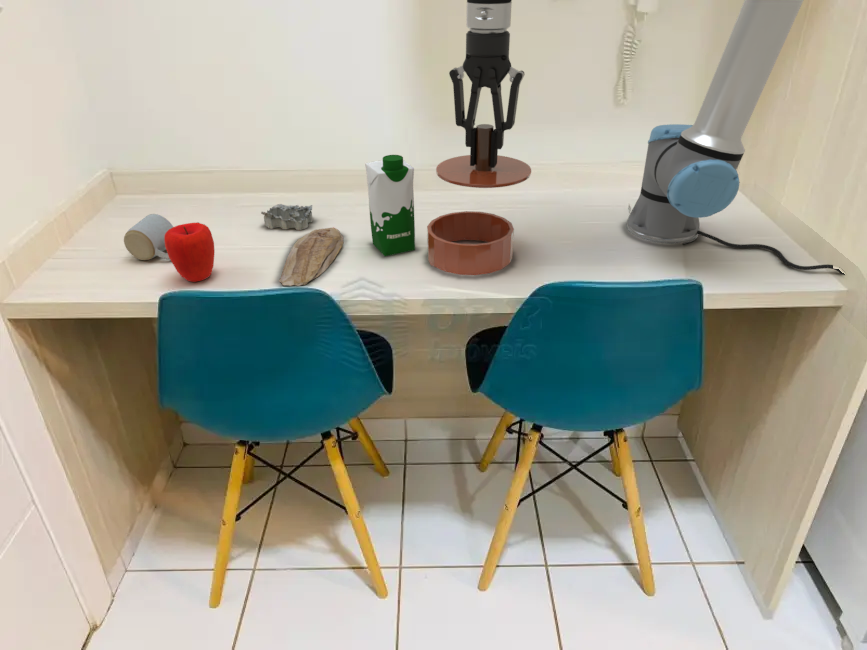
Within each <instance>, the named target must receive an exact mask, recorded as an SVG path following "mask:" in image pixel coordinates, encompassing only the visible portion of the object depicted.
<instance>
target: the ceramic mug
mask: <svg viewBox="0 0 867 650" xmlns="http://www.w3.org/2000/svg"><path fill="white" fill-rule="evenodd" d="M173 227H174V226H173V224H172V223H171V221H169V220H168V219H167V218H166V217H164V216H163V215H160V214H158V213H149V214H147V215H146V216H144V217H143V218H142V219H140V220H139V221H137V223H135V224H134V225H133V226H132V227H130V228H129V229H128V230H127V231H126V233H125V234H124V236H123V244H124V247H125V249H126V250H127V251H128V253H129V254H130V255H131V256H132V257H134V258H135V259H137V260H140V261H148V260H152V259H154V258H156V257H159V258H161V259H164V260H170V258H169V256H168V253H167V252H165V251H167V250H166V247H165V234H166V232H167V231H168V230H169V229H171V228H173Z"/></svg>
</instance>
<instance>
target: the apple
mask: <svg viewBox="0 0 867 650" xmlns="http://www.w3.org/2000/svg"><path fill="white" fill-rule="evenodd" d="M165 247H166V250H165V251H166V253H168V256H169V258H170V259H169V260H170V261H171V263H172V265H173V267H174V268H175V270H176V272H177V273H178V274H179V275H180V276H181V278H183V279H185V280H186V281H188V282H193V283H196V282H202V281H204V280H206V279H208V278H209V277H210V276H211V275H212V274H213V273H212V272H213V268H214V264H215V263H214V262H215V242H214V238H213V234H212V231H211V229H210V228H209V227H208V226H207V225H206V224H204V223H201V222H188V223H182V224H178V225H175V226H173V228H171V229H169V230H168V231H167V232H166V234H165Z"/></svg>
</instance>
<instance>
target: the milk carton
mask: <svg viewBox="0 0 867 650" xmlns="http://www.w3.org/2000/svg"><path fill="white" fill-rule="evenodd" d="M364 164H365V172H366V173H365V174H366V181H367V182H366V183H367V192H368V193H367V194H368V195H367V196H368V209H369V221H370V232H371V233H370V234H371V240H372V245H373V246H374V247H375V248H376V249H377V250H378V251H379V252H380V253H381V255H382V256H384V257H389V256H395V255H399V254H403V253H404V254H405V253H408V252H413V251H416V228H415V227H416V226H415V223H416V221H415V197H414V196H415V195H414V178H415V176H414V175H415V168H414V166H412V165H411V164H409V163H408V162H407V161H406V160H404V157H403V156H402V155H399V154H387V155H384V156H383V157H382V159H381V160H376V161H369V162H364Z"/></svg>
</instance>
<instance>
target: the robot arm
mask: <svg viewBox="0 0 867 650" xmlns="http://www.w3.org/2000/svg"><path fill="white" fill-rule="evenodd" d="M512 1H513V0H466V21H465V22H466V28H467V29H469V30H468V31H467V32H466V33H465V58H464V61H463V62H462V65H460V66H458V67H453V68H452V69H451V70H450V71H448V72H449V73H448V74H449V78H450V80H451V82H452V86H453V87H452V88H453V101H454V102H453V104H454V118H455V125H456V126H457V127H462V128H463V129H464V131H465V136H464V137H465V140H464V141H465V143H464V144H465V147H466V148H470V153H469V155H470V166H474V165H475V157H476V127H475V125H476V117H477V112H478V107H479V103H480V98H481V97H480V96H481V91H482V88H487V89H490V90H489V91H490V95H491V100H492V101H491V102H492V108H493V109H492V110H493V118H494V119H493V120H494V130H493V132H492V134H491V160H490V168H494V167H495V166H496V164H497V155H499V154H498V152H499V151H498V150H502V148H503V146H504V141H505V139H504V138H505V131H508V130H512V128H513V127H514V126H515V123H516V115H517V109H518V100H519V93H520V85H521V83H522V82H523V79H524V77H525V71H523V70H522V69H521V70H518V69H516V68H514V67H512V62H511V60H510V42H511V33H510V31H508V29H509V28H510V27H511V22H512V21H511V20H512V3H513V2H512ZM803 3H804V0H743V3H742V6H741V8H740V10H739V13H738V16H737V17H736V18H737V19H736V21H735V23H734V25H733V28H732V30H731V32H730V35H729V38H728V40H727V43H726V45H725V47H724V49H723V52H722V54H721V57H720V59H719V62H718V65H717V67H716V68H715V72H714V74H713V76H712V79H711V81H710V84H709V86H708V89H707V91H706V94H705V96H704V99H703V101H702V102H701V106H700V108H699V111H698V113H697V116H696V117H695V120H694V123H693V124H681V123H680V124H676V123H675V124H674V123H673V124H672V123H671V124H660V125H656V126H654V127H653V128H652V130H651V131H650V135H649V139H648V140H647V150H646V157H645V161H644V162H645V163H644V169H643V175H642V181H641V188H640V193H639V196H638V198H637V200H636V202H635V204H634V206H633V207H632V208H631V204H628V207H627V210H628V213H629V214H628V218H627V220H626V230H627V232H629V233H630V234H631V235H633V236H634V237H637V238H640V239H641V240H645V241H648V242H653V243H659V244H671V245H672V244H682V245H685V244H689V243H692V242H694V241H696V240H697V239H698V237H699V236H702V237H704V238H708V239H710V240H712V241H715V242H716V243H718V244H721V245H723V246H726V247H730V248H734V249H735V248H736V249H753V248H754V249H755V248H756V249H764V250H768V251H771V252H773V253H774V254H776V256H777V257H778V258H779V259H780V260H781V262H783V263H784V264H785V265H786V266H788V267H790V268H793V269H795V270H799V271H801V270H802V271H811V270H820V269H821V270H822V269H831V270H834V271H836V272H838V273H839V274H840V275H842V276H846V275H845V274H844V273H842V272H841V271H840V270H839V269H833V265H834V264H816V265H799V264H795V263H792V262H791V261H789V260H788V259H787V258H786V257H785V256H784V254H783V253H782V252H781V251H780V250H779V249H777V248H775V247H774V246H771V245H766V244H760V243H748V244H737V243H731V242H727V241H726V240H723V239H721V238H719V237H716V236H714V235H712V234H709V233H706V232H703V231H702V230H701V231H700V228H701V227H700V219H701V218H708V217H712V216H713V215H715V214H717V213H721V212H722V211H724V210H725V209H726V208H727V207H729V206H730V205H731V204H732V202H733V201H734V200H735V199H736V197H737V194H738V192H739V188H740V177H739V173H738V168H739V165H740V163H741V160H742V158H743V156H744V154H745V152H746V149H745V146H744V144H743V142H742V137H743V134H744V133H745V130H746V129H747V126H748V123H749V122H750V120H751V117H752V115H753V114H754V111H755V108H756V106H757V104H758V102H759V100H760V97H761V95H762V93H763V91H764V89H765V86H766V85H767V82H768V80H769V78H770V75H771V73H772V71H773V68H774V66H775V64H776V62H777V60H778V58H779V55H780V53H781V51H782V49H783V47H784V45H785V42H786V40H787V38H788V36H789V33H790V32H791V29H792V27H793V24H794V22H795V20H796V18H797V16H798V13H799V11H800V9H801V7H802V5H803ZM465 74H466V75H467V77H468V79H469V80H470V82H471V87H470V95H469V96H470V97H469V101H468V102H469V103H468V107H467V113H466V111H465V94H464V93H465V92H464V91H465V90H464V80H463V79H464V77H465ZM508 75H509V82H510V83H511V84H510V88H509V95H508V104H507V112H506V120H505V113H504V105H503V96H502V82H503V81H504V80H505V78H506V77H507V76H508Z"/></svg>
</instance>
